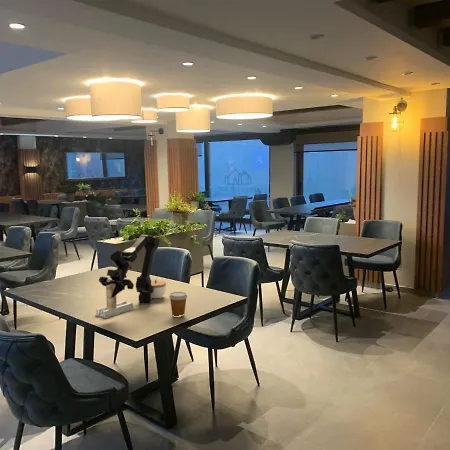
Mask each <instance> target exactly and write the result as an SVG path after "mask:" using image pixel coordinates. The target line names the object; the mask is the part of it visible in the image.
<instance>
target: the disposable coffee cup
mask: <svg viewBox="0 0 450 450" xmlns="http://www.w3.org/2000/svg"><path fill="white" fill-rule="evenodd" d="M187 297H188V295H187V293H186V292H184V291H173V292H170V294H169V297H168V298H169V300H170V307H171V315H174V316H179V315H183V314H184V315H185V312H186V311H185V310H186V303H187Z"/></svg>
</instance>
